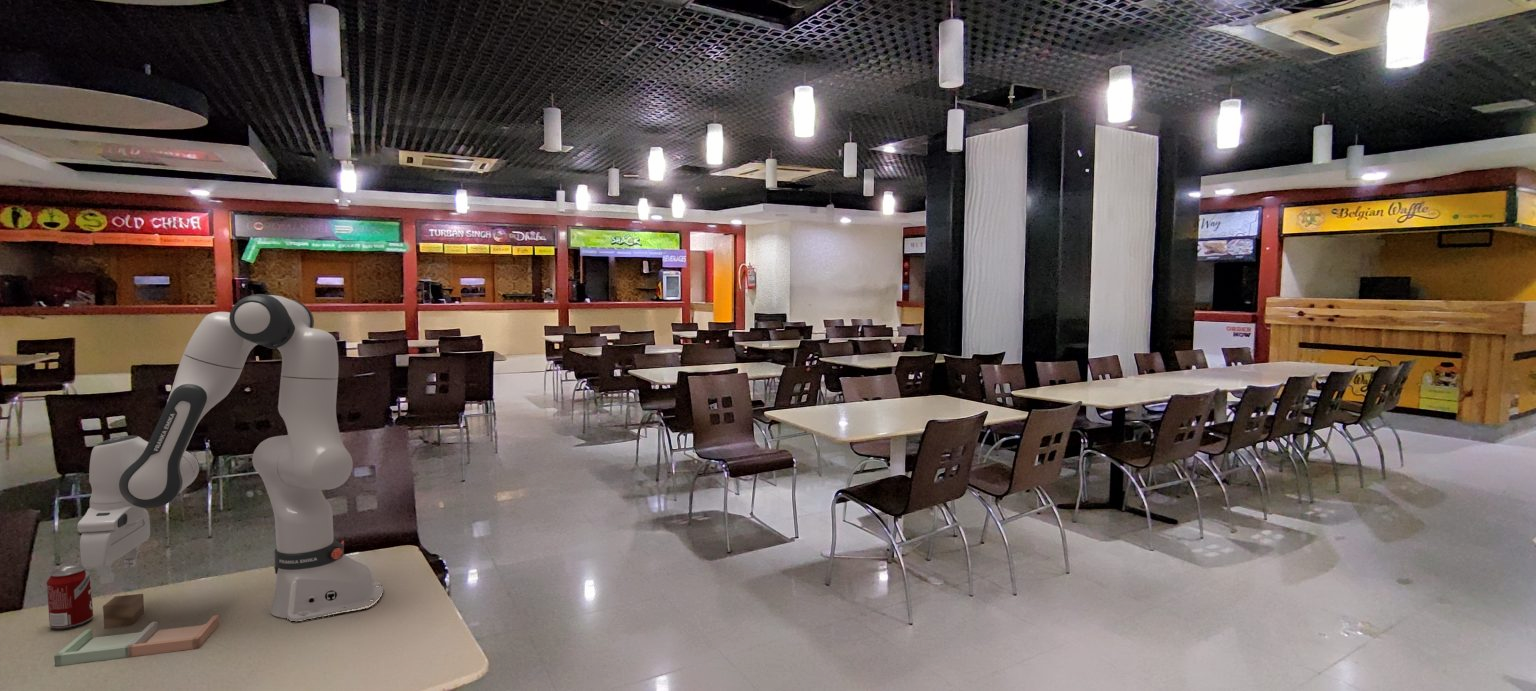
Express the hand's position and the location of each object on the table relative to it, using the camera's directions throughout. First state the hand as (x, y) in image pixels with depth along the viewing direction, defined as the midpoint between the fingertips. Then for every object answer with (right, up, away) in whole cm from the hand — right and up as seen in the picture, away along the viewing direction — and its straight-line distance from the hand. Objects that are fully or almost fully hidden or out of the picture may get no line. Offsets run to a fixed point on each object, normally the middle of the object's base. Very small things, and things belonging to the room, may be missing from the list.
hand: (118, 574), depth 156 cm
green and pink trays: (+12, -12, -8) cm, 18 cm away
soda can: (-10, -11, 0) cm, 14 cm away
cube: (0, -11, +1) cm, 11 cm away
